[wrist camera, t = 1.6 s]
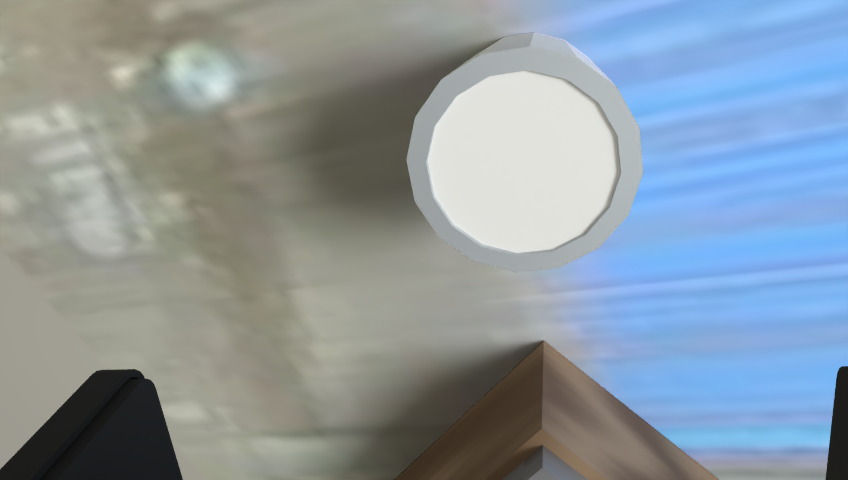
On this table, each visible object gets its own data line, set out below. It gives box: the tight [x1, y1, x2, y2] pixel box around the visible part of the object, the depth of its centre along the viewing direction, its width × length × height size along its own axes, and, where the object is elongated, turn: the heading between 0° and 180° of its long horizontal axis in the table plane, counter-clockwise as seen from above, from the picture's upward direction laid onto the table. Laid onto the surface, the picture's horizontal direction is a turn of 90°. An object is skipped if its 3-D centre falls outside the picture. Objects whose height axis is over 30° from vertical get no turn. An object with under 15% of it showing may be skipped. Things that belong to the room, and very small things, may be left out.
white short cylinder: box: [406, 32, 643, 272], centre depth 25 cm, size 7×7×7 cm
